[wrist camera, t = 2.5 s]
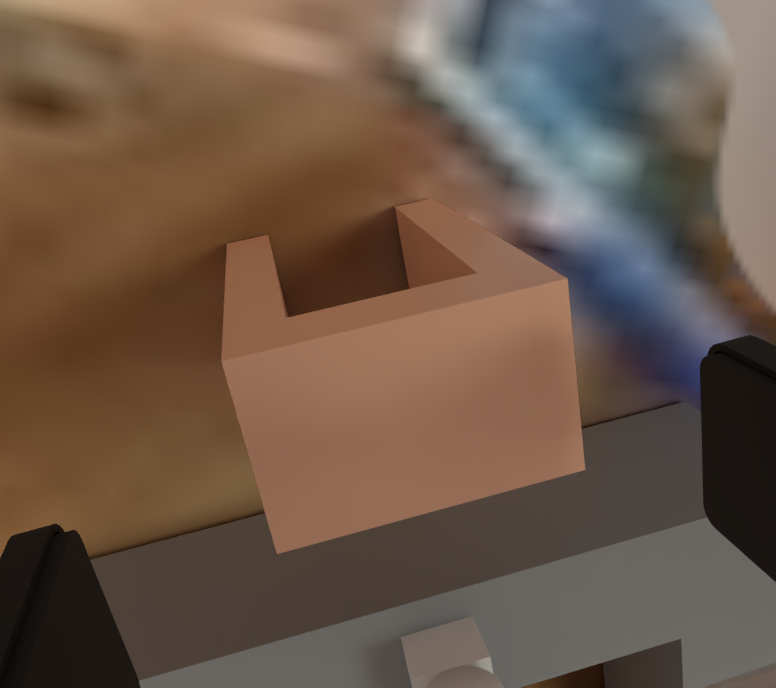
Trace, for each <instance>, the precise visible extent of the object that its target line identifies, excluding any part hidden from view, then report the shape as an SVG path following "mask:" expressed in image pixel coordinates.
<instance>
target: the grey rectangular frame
mask: <svg viewBox="0 0 776 688" xmlns="http://www.w3.org/2000/svg"><path fill="white" fill-rule="evenodd" d="M582 440H583V451H584V461H585V470H583V471H580V472H576V473H572V474H569V475H565V476H561V477H558V478H554V479H550V480H547V481H543V482H539V483H536V484H532V485H528V486H525V487H521V488H517V489H514V490H510V491H506V492H503V493H499V494H495V495H492V496H488V497H484V498H481V499H477V500H473V501H470V502H466V503H462V504H459V505H455V506H451V507H448V508H444V509H440V510H437V511H433V512H429V513H426V514H422V515H418V516H415V517H411V518H407V519H404V520H400V521H396V522H393V523H389V524H385V525H382V526H378V527H375V528H371V529H367V530H364V531H360V532H356V533H353V534H349V535H345V536H342V537H338V538H334V539H331V540H327V541H323V542H320V543H316V544H312V545H309V546H305V547H301V548H298V549H294V550H290V551H287V552H283V553H279V554H277V553H276V549H275V546H274V542H273V539H272V535H271V532H270V528H269V525H268V521H267V518H266V515H265V513H264V514H260V515H256V516H253V517H249V518H245V519H241V520H238V521H234V522H230V523H226V524H223V525H219V526H215V527H211V528H208V529H204V530H200V531H196V532H193V533H189V534H185V535H181V536H178V537H174V538H170V539H166V540H162V541H159V542H155V543H151V544H147V545H144V546H140V547H136V548H132V549H129V550H125V551H121V552H117V553H114V554H110V555H106V556H102V557H99V558H95V559H91V560H90V561H91V564H92V566H93V569H94V571H95V573H96V576H97V578H98V581H99V583H100V586H101V588H102V591H103V593H104V596H105V598H106V600H107V603H108V605H109V608H110V610H111V613H112V615H113V618H114V620H115V623H116V625H117V627H118V630H119V632H120V635H121V637H122V640H123V642H124V645H125V647H126V650H127V652H128V654H129V657H130V659H131V662H132V664H133V667H134V669H135V672H136V674H137V677H138V680H139V684H140V688H521V687H525V686H528V685H531V684H534V683H538V682H541V681H544V680H548V679H551V678H554V677H557V676H561V675H564V674H567V673H570V672H574V671H577V670H580V669H583V668H587V667H590V666H593V665H596V664H600V663H603V672H604V683H605V688H702V687H705V686H708V685H711V684H714V683H717V682H720V681H723V680H726V679H729V678H732V677H734V676H737V675H740V674H743V673H746V672H749V671H752V670H755V669H758V668H761V667H764V666H767V665H770V664H773V663H776V582H775V581H774V580H773V579H771V578H770V577H769V576H768V575H767V574H766V573H765V572H764V571H762V570H761V569H760V568H759V567H758V566H757V565H756V564H755V563H753V562H752V561H751V560H750V559H749V558H748V557H747V556H746V555H744V554H743V553H742V552H741V551H740V550H739V549H738V548H737V547H735V546H734V545H733V544H732V543H731V542H730V541H729V540H728V539H726V538H725V537H724V536H723V535H722V534H721V533H720V532H719V531H717V530H716V529H715V528H714V527H713V526H712V524H711V523H710V521H709V520H708V518H707V516H706V513H705V510H704V505H703V474H702V431H701V411H699V410H698V409H696V408H695V407H694V406H692V405H691V404H689V403H688V402H687V401H685V402H681V403H678V404H674V405H670V406H666V407H663V408H659V409H655V410H651V411H647V412H644V413H640V414H636V415H632V416H629V417H625V418H621V419H617V420H614V421H610V422H606V423H602V424H599V425H595V426H591V427H587V428H584V429H582Z"/></svg>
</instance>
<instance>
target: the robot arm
mask: <svg viewBox="0 0 776 688" xmlns="http://www.w3.org/2000/svg"><path fill="white" fill-rule="evenodd" d="M700 387H701V431H702V474H703V505H704V510H705V513H706V516H707V518H708V520H709V521H710V523H711V524H712V526H713V527H714V528H715V529H716V530H717V531H719V532H720V533H721V534H722V535H723V536H724V537H725V538H726V539H728V540H729V541H730V542H731V543H732V544H733V545H734V546H735V547H737V548H738V549H739V550H740V551H741V552H742V553H743V554H744V555H746V556H747V557H748V558H749V559H750V560H751V561H752V562H753V563H755V564H756V565H757V566H758V567H759V568H760V569H761V570H762V571H764V572H765V573H766V574H767V575H768V576H769V577H770V578H771V579H773V580H774V581H775V582H776V346H774V345H772V344H770V343H768V342H766V341H764V340H761V339H759V338H757V337H755V336H751V335H748V336H744V337H740V338H737V339H733V340H729V341H726V342H722V343H718V344H715V345H713V346H712V347H711V348H710V349H709V352H708V356H706V357H704V358H703V359H702V361H701V364H700ZM0 688H140V684H139V680H138V677H137V674H136V672H135V669H134V667H133V664H132V662H131V659H130V657H129V654H128V652H127V650H126V647H125V645H124V642H123V640H122V637H121V635H120V632H119V630H118V627H117V625H116V623H115V620H114V618H113V615H112V613H111V610H110V608H109V605H108V603H107V600H106V598H105V596H104V593H103V591H102V588H101V586H100V583H99V581H98V578H97V576H96V573H95V571H94V569H93V566H92V564H91V561H90V559H89V556H88V554H87V551H86V549H85V546H84V544H83V541H82V539H81V537H80V535H79V534H78V532H77V531H75V530H71V531H68V532H64V530H63V529H62V528H61V526H60V525H58V524H53V525H49V526H46V527H42V528H38V529H35V530H31V531H27V532H24V533H20V534H16V535H13V536H11V537H10V539H9V540H8V542H7V545H6V547H5V549H4V551H3V554H2V556H1V558H0ZM702 688H776V663H773V664H770V665H767V666H764V667H761V668H758V669H755V670H752V671H749V672H746V673H743V674H740V675H737V676H734V677H732V678H729V679H726V680H723V681H720V682H717V683H714V684H711V685H708V686H705V687H702Z"/></svg>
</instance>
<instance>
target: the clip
mask: <svg viewBox="0 0 776 688" xmlns="http://www.w3.org/2000/svg"><path fill="white" fill-rule="evenodd" d="M395 212H396V217H397V223H398V228H399V234H400V240H401V245H402V251H403V257H404V262H405V268H406V273H407V279H408V285H409V289H407V290H403V291H399V292H394V293H390V294H386V295H382V296H377V297H373V298H369V299H365V300H360V301H356V302H352V303H348V304H343V305H339V306H335V307H331V308H326V309H322V310H318V311H313V312H309V313H305V314H301V315H296V316H292V317H288V314H287V310H286V306H285V302H284V298H283V294H282V290H281V286H280V281H279V277H278V273H277V269H276V265H275V261H274V257H273V253H272V249H271V245H270V241H269V237H268V235H264V236H260V237H255V238H251V239H246V240H242V241H237V242H233V243H228V244H227V252H226V273H225V294H224V315H223V336H222V356H221V362H222V366H223V369H224V373H225V376H226V380H227V383H228V387H229V390H230V393H231V397H232V400H233V404H234V407H235V411H236V414H237V418H238V421H239V425H240V428H241V432H242V435H243V438H244V442H245V445H246V449H247V452H248V456H249V459H250V463H251V466H252V470H253V473H254V476H255V480H256V483H257V487H258V490H259V494H260V497H261V501H262V504H263V508H264V511H265V515H266V518H267V521H268V525H269V528H270V532H271V535H272V539H273V542H274V546H275V549H276V553H277V554H279V553H283V552H287V551H290V550H294V549H298V548H301V547H305V546H309V545H312V544H316V543H320V542H323V541H327V540H331V539H334V538H338V537H342V536H345V535H349V534H353V533H356V532H360V531H364V530H367V529H371V528H375V527H378V526H382V525H385V524H389V523H393V522H396V521H400V520H404V519H407V518H411V517H415V516H418V515H422V514H426V513H429V512H433V511H437V510H440V509H444V508H448V507H451V506H455V505H459V504H462V503H466V502H470V501H473V500H477V499H481V498H484V497H488V496H492V495H495V494H499V493H503V492H506V491H510V490H514V489H517V488H521V487H525V486H528V485H532V484H536V483H539V482H543V481H547V480H550V479H554V478H558V477H561V476H565V475H569V474H572V473H576V472H580V471H583V470H585V461H584V451H583V440H582V429H581V418H580V407H579V397H578V386H577V375H576V364H575V353H574V343H573V332H572V321H571V310H570V299H569V289H568V278H566V277H564V276H563V275H561V274H559V273H558V272H556V271H554V270H553V269H551V268H549V267H548V266H546V265H544V264H543V263H541V262H539V261H538V260H536V259H534V258H533V257H531V256H529V255H528V254H526V253H524V252H523V251H521V250H519V249H518V248H516V247H514V246H513V245H511V244H509V243H508V242H506V241H504V240H503V239H501V238H499V237H498V236H496V235H494V234H493V233H491V232H489V231H488V230H486V229H484V228H483V227H481V226H479V225H478V224H476V223H474V222H473V221H471V220H469V219H468V218H466V217H464V216H463V215H461V214H459V213H458V212H456V211H454V210H453V209H451V208H449V207H448V206H446V205H444V204H443V203H441V202H439V201H438V200H436V199H434V198H432V199H427V200H423V201H418V202H414V203H409V204H405V205H400V206H396V207H395Z"/></svg>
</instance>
